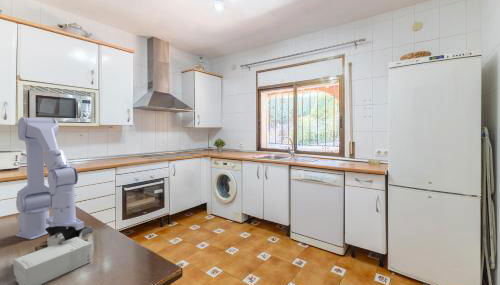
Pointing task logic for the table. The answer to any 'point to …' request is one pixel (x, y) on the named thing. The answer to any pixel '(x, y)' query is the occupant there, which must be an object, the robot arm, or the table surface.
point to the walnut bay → (47, 245)
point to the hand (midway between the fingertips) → (65, 248)
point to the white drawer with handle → (57, 239)
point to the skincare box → (51, 261)
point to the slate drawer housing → (84, 230)
